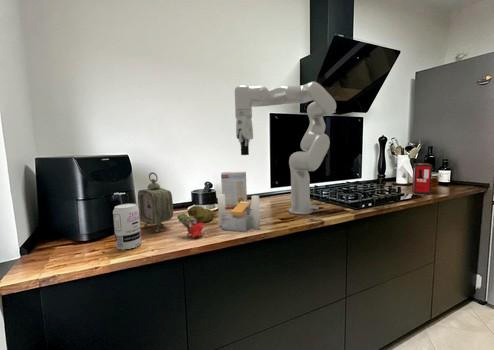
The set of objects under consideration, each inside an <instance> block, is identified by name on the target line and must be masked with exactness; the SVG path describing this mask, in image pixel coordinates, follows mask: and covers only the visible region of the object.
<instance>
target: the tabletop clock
mask: <svg viewBox="0 0 494 350" xmlns="http://www.w3.org/2000/svg"><path fill="white" fill-rule="evenodd" d="M152 175H154V176H155V177H156V179H155V178H152V179H151V176H152ZM148 179H149V181H150V182H151V183H149V184H148V185H147V189H140V190H138V191H137V193H138V194H137V207H138V208H139V217H140V221H142V222H143V223H145V224H144V225H143V228H144V229H146V228H148V227H149V225H150V226H151V225H152V226H153V225H157V226H156V229H155V232H156V234H157V233H160V231H161V230H160V228H163V227H164V224H163V222H167V221H170V220H171V219H172V218H173V217H174V203H173V195H172V191H170V190H168V189H166V188H163V187H161V186H160V184H159V183H157V181H158V179H159V178H158V175H157V173H155V172H150V173H149V174H148Z"/></svg>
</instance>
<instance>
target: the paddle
mask: <svg viewBox="0 0 494 350" xmlns="http://www.w3.org/2000/svg"><path fill="white" fill-rule="evenodd" d="M247 206H250V207H252V201H247V202H244V201H241V202H240V203H239V204H238V205H237V206H236V207H235V208H234V209H233V208H232V210H231V211H230V213H231V215H239V216H242V215H243V214H244V213H245V211H246V210H247Z"/></svg>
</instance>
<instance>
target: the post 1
mask: <svg viewBox="0 0 494 350" xmlns="http://www.w3.org/2000/svg"><path fill="white" fill-rule="evenodd" d="M217 211H218V214H217V216H218V226H219V227H222V218H223V217H224V216H226V215H227V214H226V208H225V194H222V193H219V194H217Z"/></svg>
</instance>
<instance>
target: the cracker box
mask: <svg viewBox="0 0 494 350" xmlns="http://www.w3.org/2000/svg"><path fill="white" fill-rule="evenodd" d="M220 177H221V179H220V181H221V183H220V185H221V194H225V209H233V208H232V206H233V205H236V206H237V205H238V204H239V203H240V202H241V201H244V202H248V194H247V192H248V191H247V173H246V171H226V172H221V173H220Z"/></svg>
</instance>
